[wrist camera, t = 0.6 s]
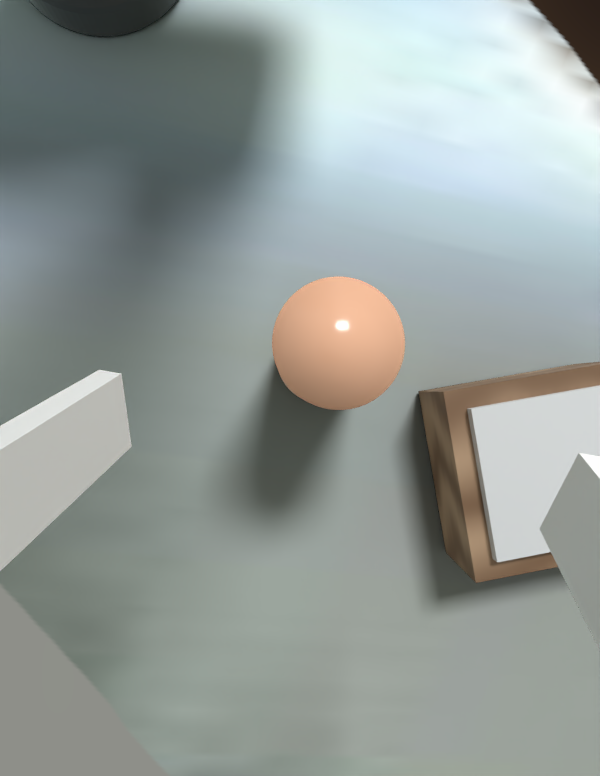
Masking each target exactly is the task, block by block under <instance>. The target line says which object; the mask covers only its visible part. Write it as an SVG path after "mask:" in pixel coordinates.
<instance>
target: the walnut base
mask: <svg viewBox="0 0 600 776" xmlns="http://www.w3.org/2000/svg"><path fill="white" fill-rule="evenodd" d="M419 397H420V403H421V409H422V414H423V420H424V426H425V432H426V438H427V444H428V450H429V455H430V461H431V467H432V473H433V479H434V485H435V491H436V496H437V502H438V508H439V514H440V520H441V526H442V532H443V538H444V543H445V549H446V553H447V554H448V555H449V556H450V557H451V558H452V559H453V560H454V561H455V562H456V563H457V564H458V565H459V566H460V567H461V568H462V569H463V570H464V571H465V572H466V573H467V574H468V575H469V576H470V577H471V578H472V579H473V580H474V581H475V582H476V583H478V582H483V581H489V580H494V579H499V578H504V577H509V576H514V575H519V574H524V573H529V572H534V571H540V570H545V569H550V568H555V567H558V565H557V563H556V561H555V559H554V557H553V555H552V553H551V551H550V549H549V547H548V545H547V543H546V541H545V539H544V537H543V535H542V533H541V531H540V527H541V525H542V523H543V521H544V519H545V517H546V515H547V513H548V511H549V509H550V507H551V505H552V503H553V502H554V500H555V498H556V496H557V494H558V492H559V490H560V488H561V486H562V484H563V482H564V480H565V478H566V476H567V474H568V472H569V471H570V469H571V467H572V465H573V463H574V461H575V459H576V457H577V455H578V453H583V454H589V455H595V456H600V362H593V363H582V364H573V365H567V366H561V367H556V368H550V369H544V370H538V371H533V372H527V373H521V374H515V375H510V376H504V377H498V378H492V379H487V380H481V381H475V382H470V383H464V384H458V385H452V386H447V387H441V388H435V389H429V390H424V391H419Z"/></svg>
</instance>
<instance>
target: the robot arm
mask: <svg viewBox="0 0 600 776" xmlns="http://www.w3.org/2000/svg"><path fill="white" fill-rule="evenodd" d="M29 1H30V2H31V3H32V4H33V5H34V6H35V7H36V8H37V9H38V10H39V11H40V12H41V13H42V14H44V15H45V16H46V17H47V18H49V19H50V20H52V21H53V22H55V23H57V24H59V25H61V26H62V27H65V28H67V29H69V30H72V31H75V32H78V33H82V34H87V35H93V36H117V35H123V34H127V33H131V32H134V31H137V30H139V29H142V28H144V27H146V26H148V25H150V24H151V23H153V22H155V21H156V20H158V19H159V18H160V17H161V16H163V15H164V14H165V13H166V12H167V11H168V10H169V9H170V8H171V7H172V6H173V5H174V4H175V2H176V1H177V0H29ZM131 447H132V445H131V438H130V431H129V424H128V416H127V409H126V402H125V395H124V388H123V381H122V374H121V373H115V372H109V371H103V370H98V371H96V372H94V373H93V374H91V375H89V376H87V377H85V378H84V379H82V380H80V381H78V382H77V383H75V384H73V385H71V386H70V387H68V388H66V389H64V390H63V391H61V392H59V393H57V394H55V395H54V396H52V397H50V398H48V399H47V400H45V401H43V402H41V403H40V404H38V405H36V406H34V407H32V408H31V409H29V410H27V411H25V412H24V413H22V414H20V415H18V416H17V417H15V418H13V419H11V420H10V421H8V422H6V423H4V424H2V425H1V426H0V571H1V570H2V569H3V568H4V567H5V566H6V565H7V564H8V563H9V562H11V561H12V560H13V559H14V558H15V557H16V556H17V555H18V554H19V553H20V552H21V551H22V550H23V549H24V548H25V547H26V546H27V545H28V544H30V543H31V542H32V541H33V540H34V539H35V538H36V537H37V536H38V535H39V534H40V533H41V532H42V531H43V530H44V529H45V528H46V527H47V526H49V525H50V524H51V523H52V522H53V521H54V520H55V519H56V518H57V517H58V516H59V515H60V514H61V513H62V512H63V511H64V510H65V509H66V508H68V507H69V506H70V505H71V504H72V503H73V502H74V501H75V500H76V499H77V498H78V497H79V496H80V495H81V494H82V493H83V492H84V491H85V490H87V489H88V488H89V487H90V486H91V485H92V484H93V483H94V482H95V481H96V480H97V479H98V478H99V477H100V476H101V475H102V474H103V473H104V472H106V471H107V470H108V469H109V468H110V467H111V466H112V465H113V464H114V463H115V462H116V461H117V460H118V459H119V458H120V457H121V456H122V455H123V454H125V453H126V452H127V451H128V450H129V449H130V448H131ZM540 531H541V533H542V535H543V537H544V539H545V541H546V543H547V545H548V547H549V549H550V551H551V553H552V555H553V557H554V559H555V561H556V563H557V565H558V567H559V570H560V572H561V574H562V576H563V578H564V580H565V582H566V584H567V586H568V588H569V590H570V592H571V594H572V596H573V598H574V600H575V602H576V604H577V606H578V608H579V610H580V612H581V614H582V616H583V618H584V620H585V622H586V624H587V626H588V628H589V630H590V632H591V634H592V636H593V638H594V640H595V642H596V644H597V646H598V648H599V650H600V456H595V455H589V454H583V453H578V455H577V457H576V459H575V461H574V463H573V465H572V467H571V469H570V471H569V472H568V474H567V476H566V478H565V480H564V482H563V484H562V486H561V488H560V490H559V492H558V494H557V496H556V498H555V500H554V502H553V503H552V505H551V507H550V509H549V511H548V513H547V515H546V517H545V519H544V521H543V523H542V525H541V527H540Z"/></svg>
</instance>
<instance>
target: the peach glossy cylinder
mask: <svg viewBox="0 0 600 776" xmlns="http://www.w3.org/2000/svg"><path fill="white" fill-rule="evenodd" d="M272 348H273V356H274V360H275V364H276V366H277V369H278V371H279V374H280V377H281V379H282V381H283V383H284V384H285V385H286V387H287V388H288V389H289V390H290V391H291V392H292V393H293V394H295V395H296V396H298V397H300V398H301V399H303V400H305V401H307V402H308V403H311V404H313V405H315V406H318V407H321V408H325V409H332V410H346V409H352V408H356V407H360V406H362V405H365V404H367V403H369V402H371V401H373V400H375V399H376V398H377V397H379V396H380V395H381V394H382V393H383V392H385V391H386V390H387V389H388V387H389V386H390V385H391V384H392V382H393V381H394V379H395V378H396V376H397V374H398V372H399V370H400V368H401V365H402V361H403V357H404V351H405V337H404V330H403V326H402V323H401V320H400V317H399V315H398V313H397V311H396V309H395V308H394V306H393V305H392V304H391V302H390V301H389V300H388V299H387V298H386V297H385V295H384V294H382V293H381V292H380V291H379V290H377V289H376V288H374V287H373V286H371V285H370V284H367V283H365V282H363V281H360V280H357V279H354V278H348V277H327V278H323V279H319V280H316V281H314V282H311V283H309V284H307V285H305V286H303V287H302V288H301V289H299V290H298V291H296V292H295V293H294V294H293V295H292V296H291V297H290V298H289V299H288V301H287V302H286V303H285V304H284V306H283V308H282V309H281V311H280V313H279V315H278V317H277V319H276V322H275V326H274V330H273V336H272Z"/></svg>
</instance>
